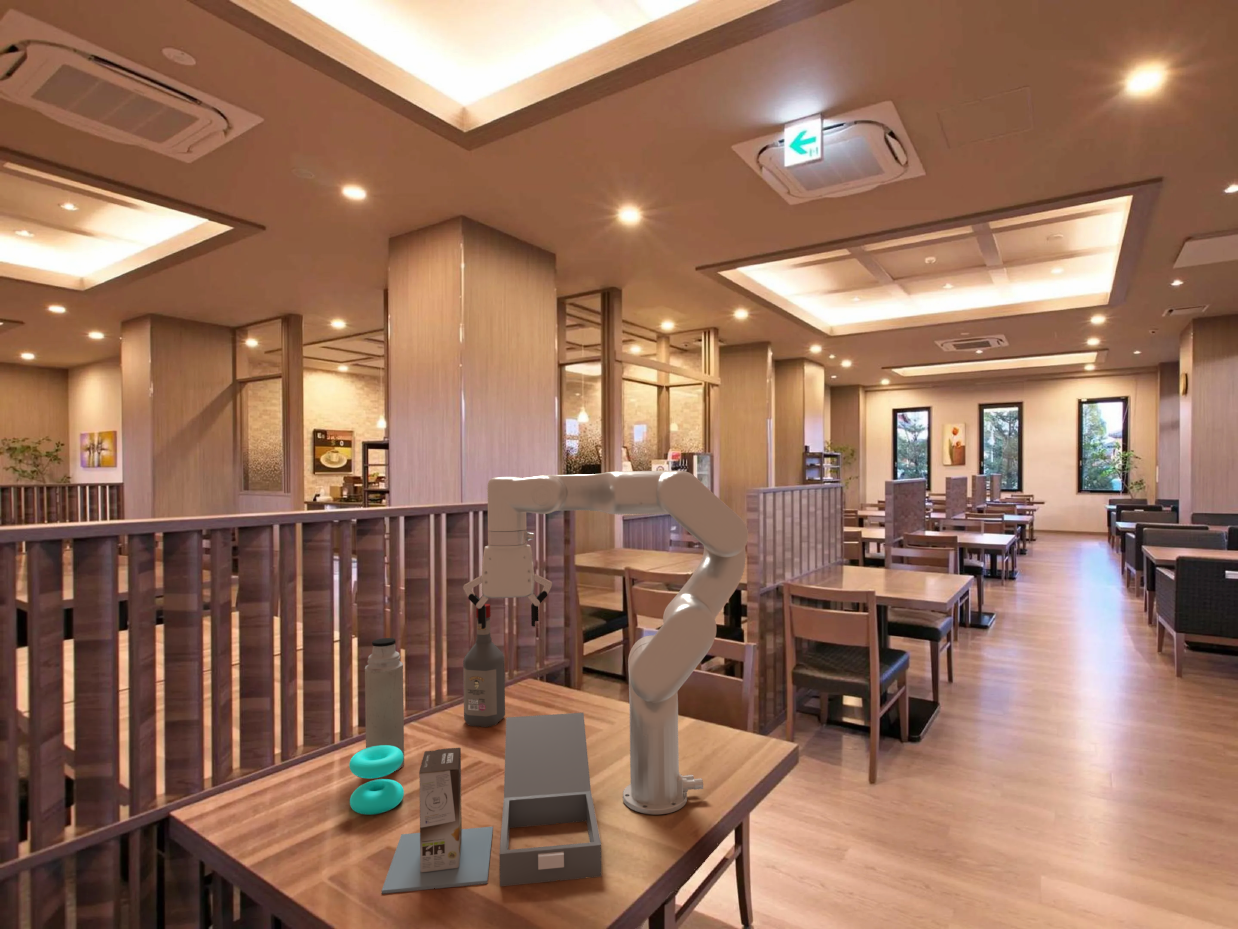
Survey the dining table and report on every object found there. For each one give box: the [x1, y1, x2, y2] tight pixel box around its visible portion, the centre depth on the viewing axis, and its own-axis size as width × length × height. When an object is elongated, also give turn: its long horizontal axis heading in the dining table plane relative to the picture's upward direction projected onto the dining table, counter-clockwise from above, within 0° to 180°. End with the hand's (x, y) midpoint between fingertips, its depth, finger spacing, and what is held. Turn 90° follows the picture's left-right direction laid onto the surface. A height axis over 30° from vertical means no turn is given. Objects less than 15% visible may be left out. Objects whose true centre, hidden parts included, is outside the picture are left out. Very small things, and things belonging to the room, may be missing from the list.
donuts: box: [348, 745, 405, 816], centre depth 130 cm, size 10×10×10 cm
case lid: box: [503, 712, 592, 799], centre depth 131 cm, size 16×18×1 cm
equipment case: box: [498, 790, 603, 887], centre depth 113 cm, size 16×19×5 cm
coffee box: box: [418, 747, 463, 873], centre depth 112 cm, size 9×6×16 cm
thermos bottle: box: [364, 637, 405, 771], centre depth 147 cm, size 8×8×28 cm
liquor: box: [462, 603, 506, 728], centre depth 173 cm, size 9×9×30 cm
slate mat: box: [381, 826, 494, 894], centre depth 111 cm, size 16×16×1 cm
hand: (508, 626), depth 131 cm, fingers open, 9 cm apart
